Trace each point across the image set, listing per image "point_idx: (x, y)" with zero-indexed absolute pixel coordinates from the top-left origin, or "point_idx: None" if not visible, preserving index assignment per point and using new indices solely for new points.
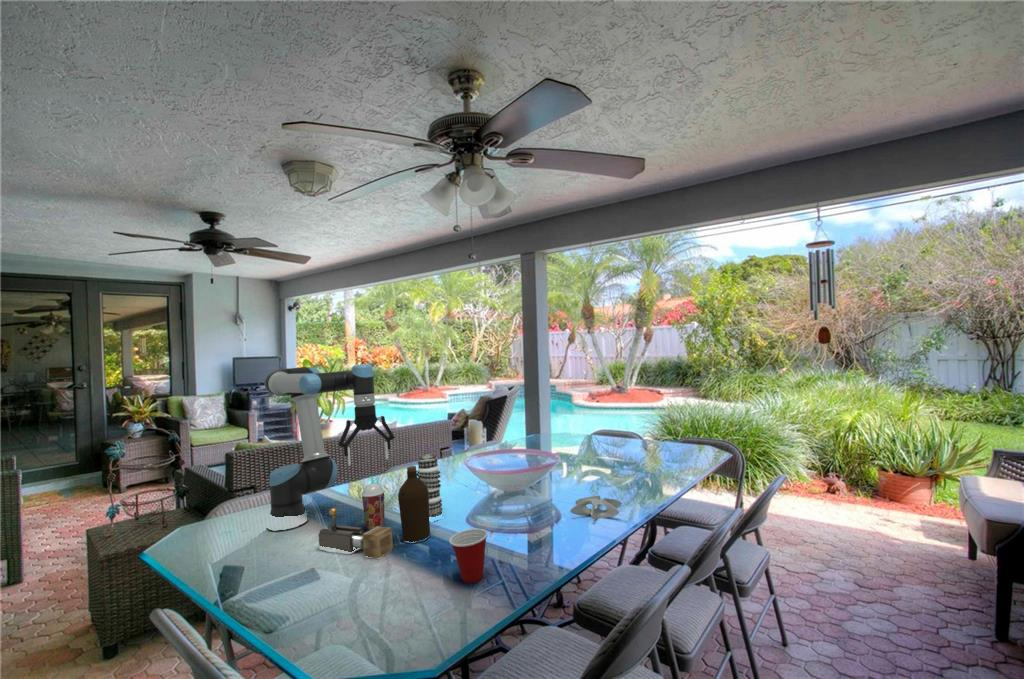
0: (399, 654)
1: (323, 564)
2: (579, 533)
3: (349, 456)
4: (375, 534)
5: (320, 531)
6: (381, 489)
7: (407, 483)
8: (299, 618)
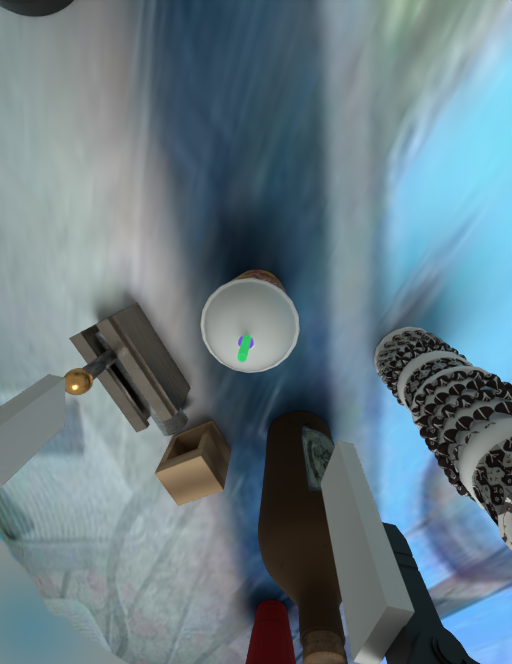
0: (132, 648)
1: (96, 402)
2: (498, 630)
3: (2, 476)
4: (177, 498)
5: (73, 340)
6: (276, 361)
7: (286, 593)
8: (46, 536)
